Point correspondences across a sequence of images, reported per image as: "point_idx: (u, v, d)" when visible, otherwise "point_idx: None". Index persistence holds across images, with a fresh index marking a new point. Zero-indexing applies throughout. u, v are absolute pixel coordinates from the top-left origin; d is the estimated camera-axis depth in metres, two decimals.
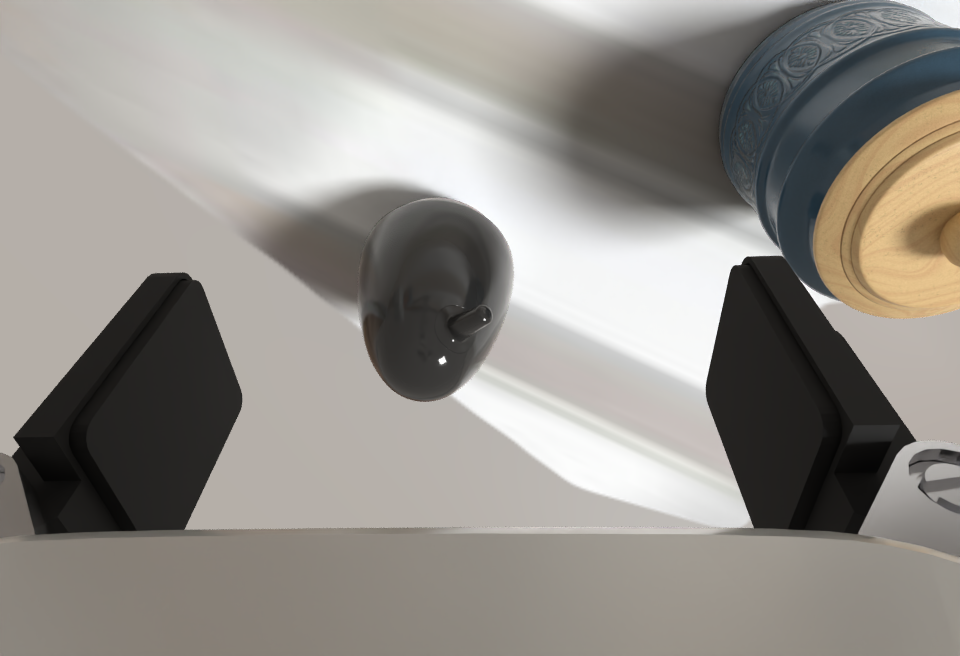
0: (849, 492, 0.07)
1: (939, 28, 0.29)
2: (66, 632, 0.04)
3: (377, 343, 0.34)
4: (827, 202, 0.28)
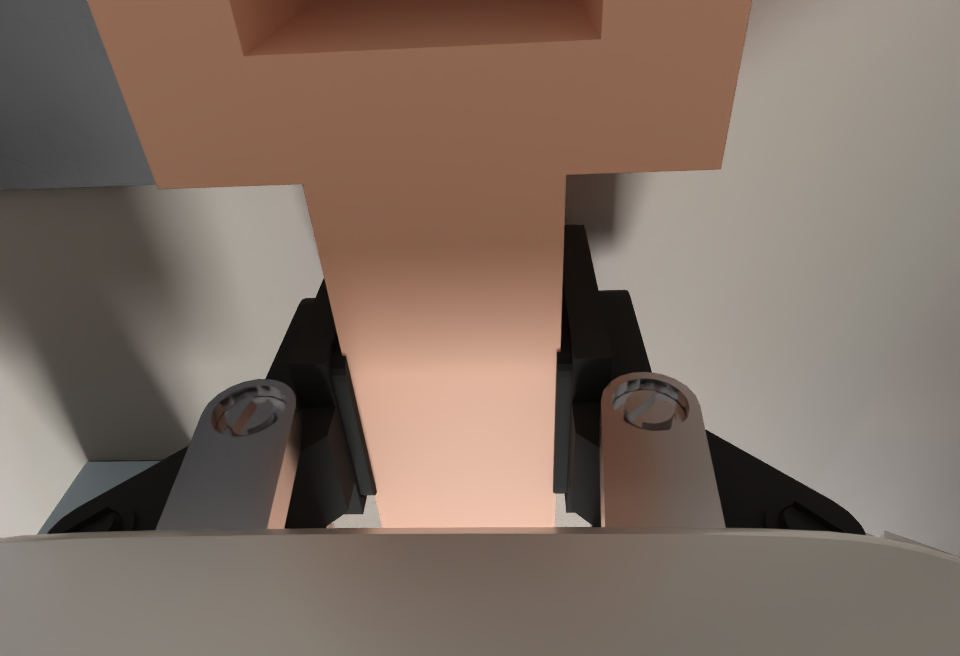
0: (578, 418, 0.09)
1: None
2: (66, 632, 0.04)
3: None
4: None
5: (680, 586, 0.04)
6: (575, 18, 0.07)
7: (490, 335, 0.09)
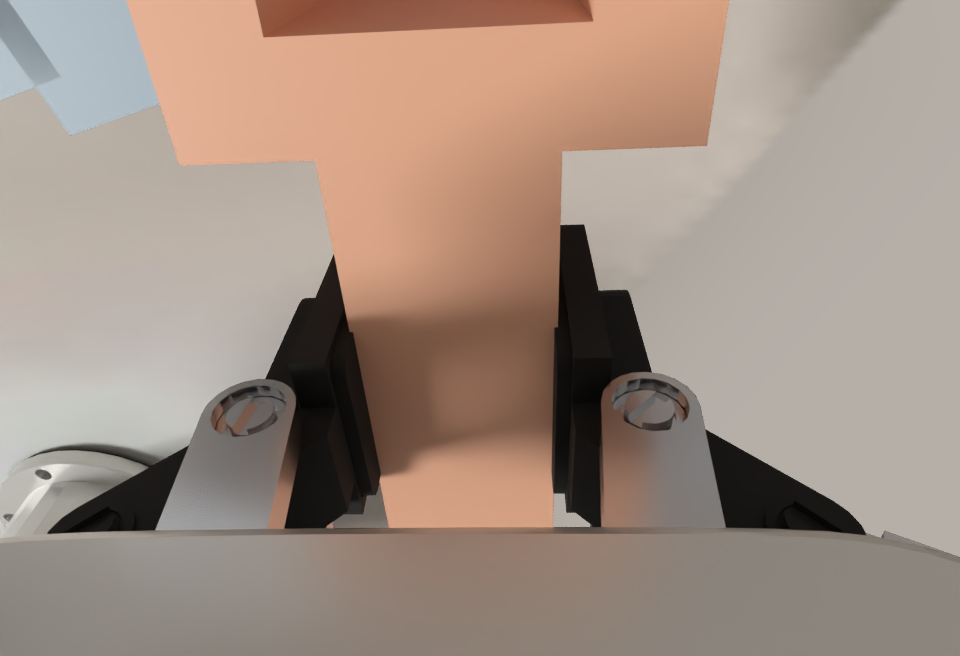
0: (578, 417, 0.09)
1: None
2: (66, 632, 0.04)
3: None
4: None
5: (680, 586, 0.04)
6: (570, 7, 0.08)
7: (491, 310, 0.09)
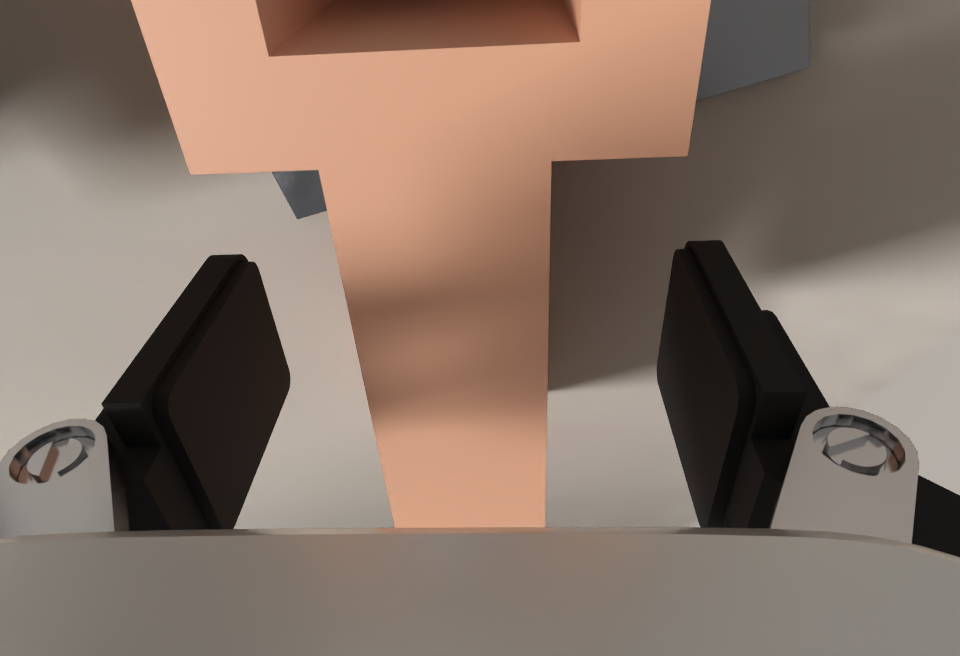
0: (763, 456, 0.08)
1: None
2: (66, 632, 0.04)
3: None
4: None
5: (680, 586, 0.04)
6: (559, 23, 0.08)
7: (485, 308, 0.09)
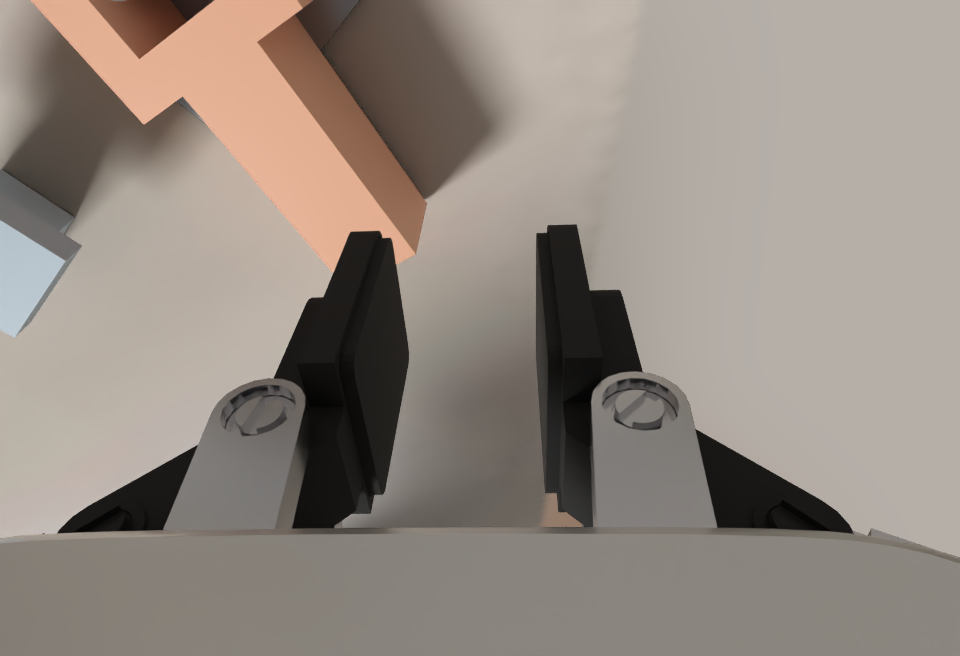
0: (568, 417, 0.09)
1: None
2: (66, 632, 0.04)
3: None
4: None
5: (680, 586, 0.04)
6: None
7: (284, 125, 0.19)
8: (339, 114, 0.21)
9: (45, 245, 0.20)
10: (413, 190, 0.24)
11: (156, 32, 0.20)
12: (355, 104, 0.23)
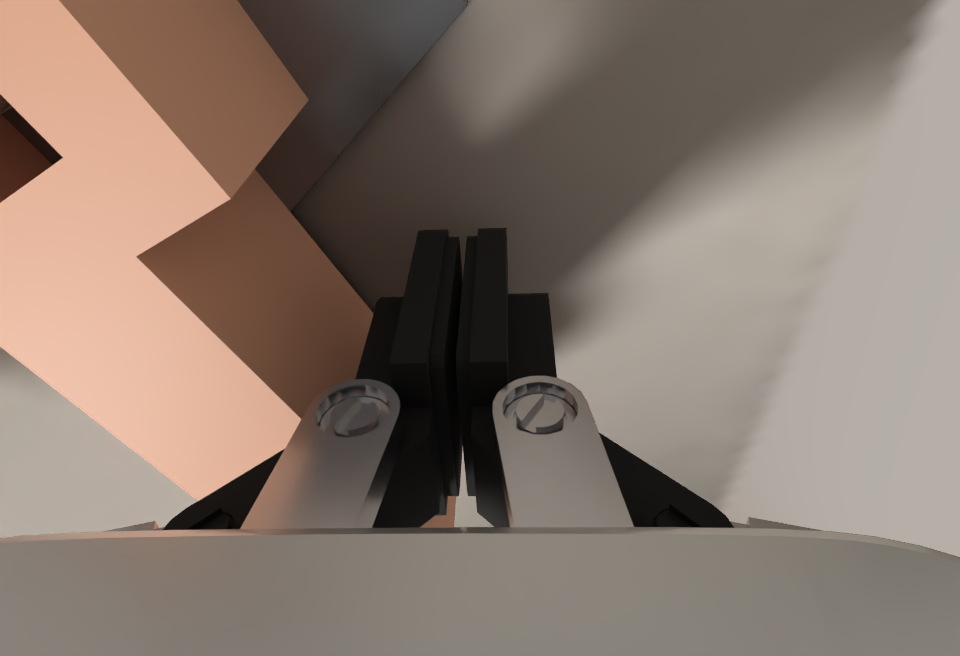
0: (476, 421, 0.09)
1: None
2: (66, 632, 0.04)
3: None
4: None
5: (680, 586, 0.04)
6: None
7: (205, 391, 0.10)
8: (317, 331, 0.12)
9: None
10: None
11: None
12: (347, 289, 0.13)
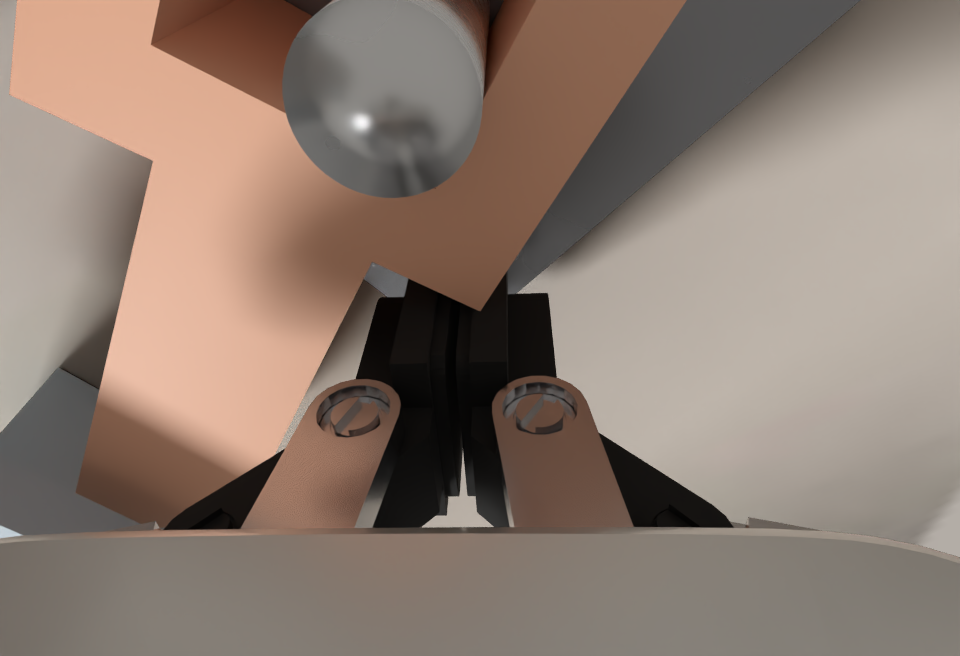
0: (476, 421, 0.09)
1: None
2: (65, 632, 0.04)
3: None
4: None
5: (679, 586, 0.04)
6: None
7: (260, 346, 0.10)
8: None
9: None
10: None
11: None
12: None
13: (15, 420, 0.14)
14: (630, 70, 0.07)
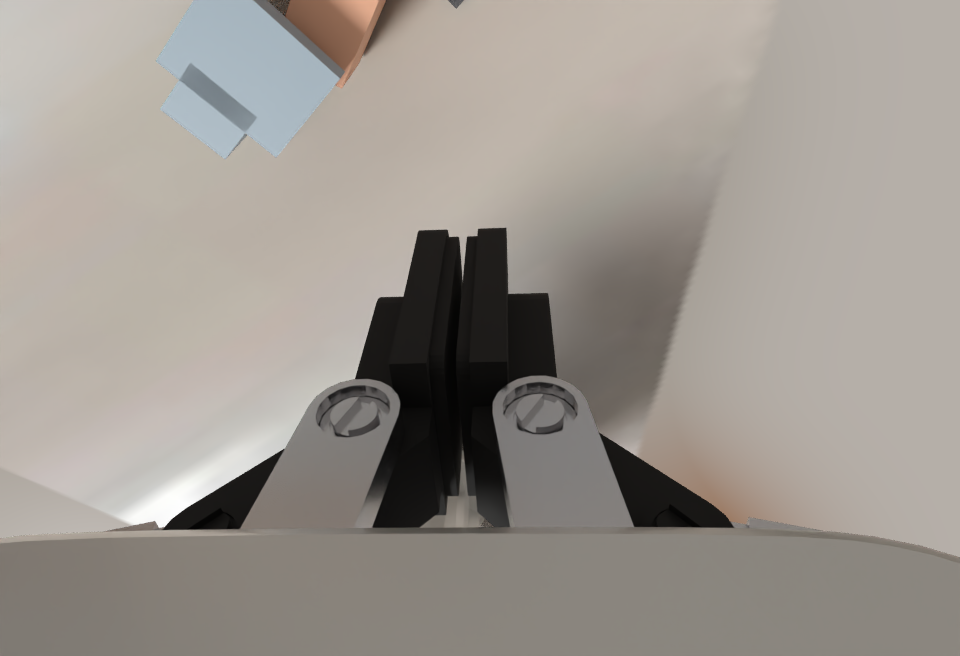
0: (476, 421, 0.09)
1: None
2: (66, 632, 0.04)
3: None
4: None
5: (679, 586, 0.04)
6: None
7: None
8: None
9: (325, 64, 0.25)
10: (364, 48, 0.29)
11: None
12: None
13: None
14: None
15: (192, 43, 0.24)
